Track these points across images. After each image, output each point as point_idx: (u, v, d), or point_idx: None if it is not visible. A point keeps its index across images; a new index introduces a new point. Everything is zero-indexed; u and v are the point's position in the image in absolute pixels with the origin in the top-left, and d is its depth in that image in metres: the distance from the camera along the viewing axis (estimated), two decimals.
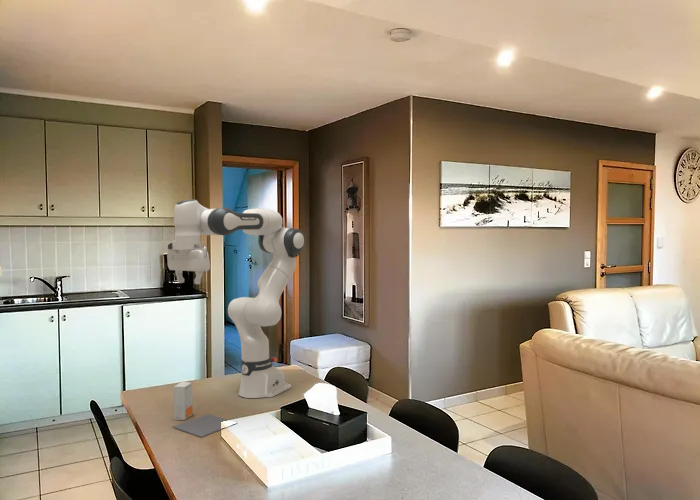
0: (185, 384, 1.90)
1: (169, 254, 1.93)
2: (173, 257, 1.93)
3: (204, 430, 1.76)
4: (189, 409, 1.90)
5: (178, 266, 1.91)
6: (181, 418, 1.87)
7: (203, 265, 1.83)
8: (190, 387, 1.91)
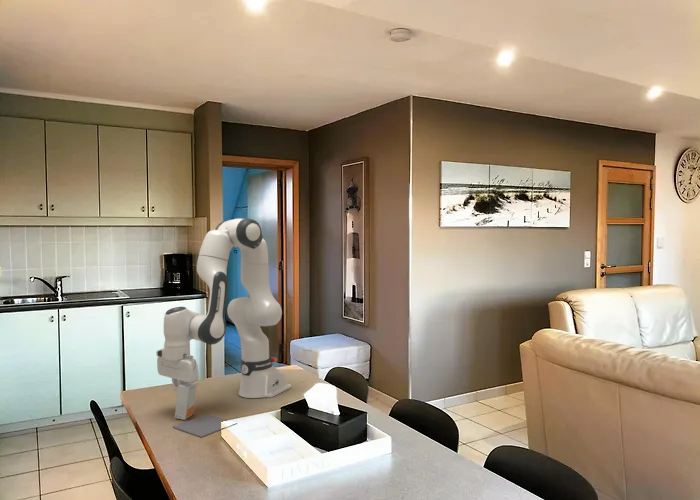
0: (190, 384, 1.89)
1: (159, 360, 1.94)
2: (162, 363, 1.94)
3: (204, 430, 1.76)
4: (190, 409, 1.90)
5: (167, 374, 1.92)
6: (181, 417, 1.87)
7: (192, 377, 1.84)
8: (194, 388, 1.91)
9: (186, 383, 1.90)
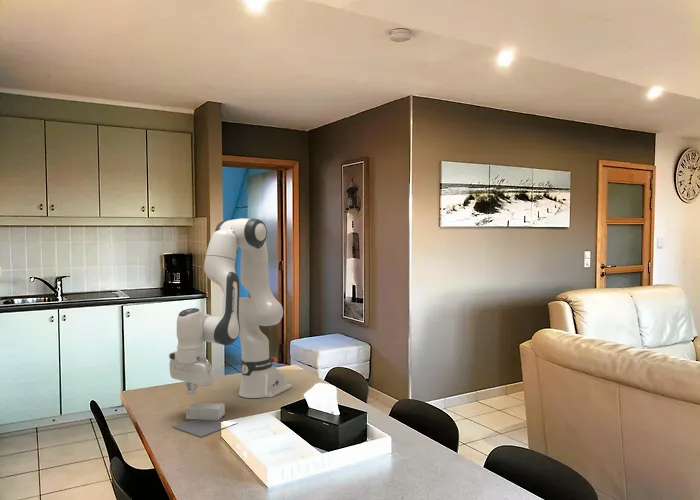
0: (221, 414, 1.88)
1: (171, 363, 1.90)
2: (175, 366, 1.90)
3: (204, 430, 1.76)
4: None
5: (180, 377, 1.88)
6: (187, 415, 1.87)
7: (206, 380, 1.80)
8: None
9: (221, 409, 1.88)
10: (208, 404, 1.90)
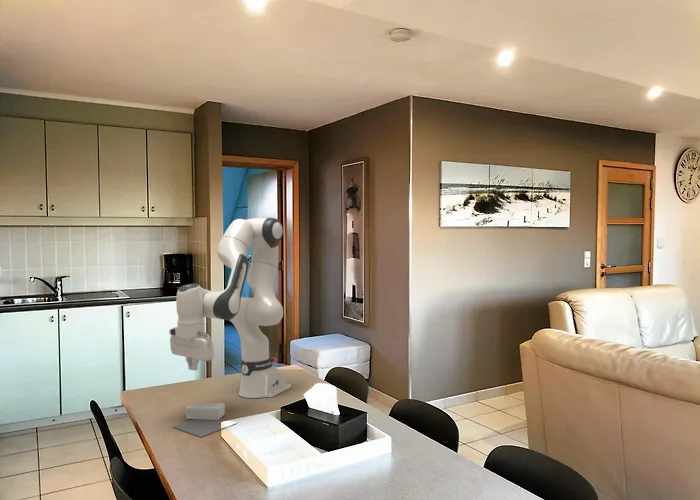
0: (221, 414, 1.88)
1: (172, 339, 1.89)
2: (176, 341, 1.89)
3: (204, 430, 1.76)
4: None
5: (181, 352, 1.87)
6: (187, 415, 1.87)
7: (207, 355, 1.79)
8: None
9: (221, 409, 1.88)
10: (208, 404, 1.90)
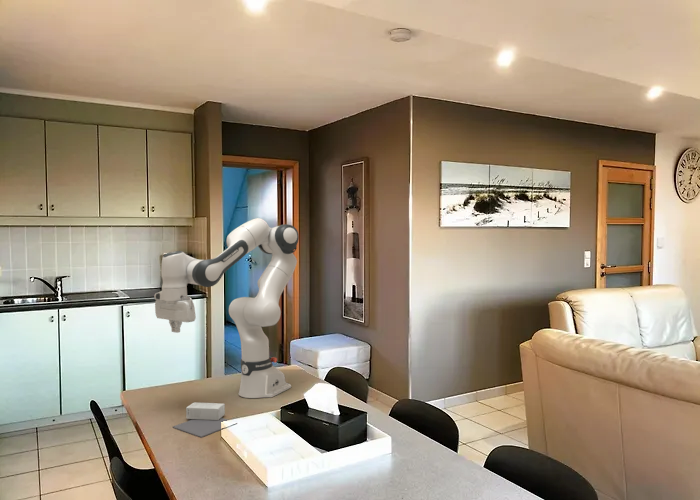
0: (221, 414, 1.88)
1: (157, 303, 2.01)
2: (160, 306, 2.01)
3: (204, 430, 1.76)
4: None
5: (165, 316, 1.98)
6: (187, 415, 1.87)
7: (188, 316, 1.91)
8: None
9: (221, 409, 1.88)
10: (208, 404, 1.90)
